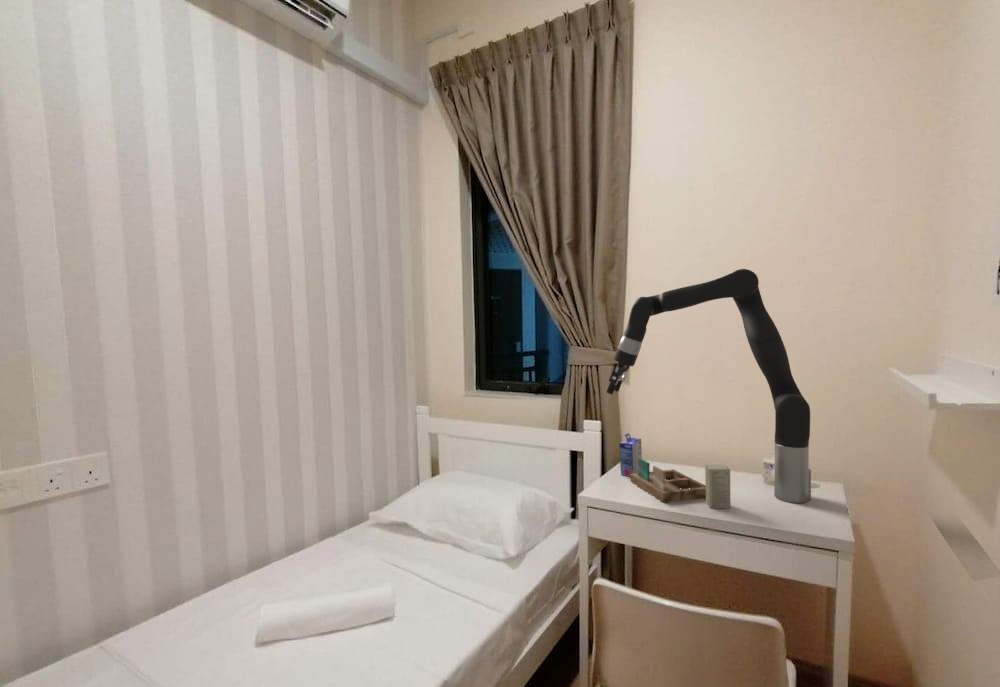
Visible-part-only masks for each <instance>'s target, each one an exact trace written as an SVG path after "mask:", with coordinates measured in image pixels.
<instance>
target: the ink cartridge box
mask: <svg viewBox="0 0 1000 687" xmlns="http://www.w3.org/2000/svg"><path fill="white" fill-rule="evenodd" d="M624 437H625V439H624V440H622V441H621V442H620V443H619V458H620V459H619V461H620V462H619V463H620V466H619V467H620V475H621V476H625V475H626V476H625V477H631V474H633V473H638V458H641V459H643V455H642V453H643V452H642V447H643V446H642V438H638V437H631V434H630V433H626V434H625V435H624Z"/></svg>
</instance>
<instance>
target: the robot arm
mask: <svg viewBox="0 0 1000 687" xmlns="http://www.w3.org/2000/svg"><path fill="white" fill-rule="evenodd" d="M759 287H760V286H759V278H758V275H757V274H756V273H755V272H754V271H752V270H750V269H746V268H740V269H736V270H733V271H732V272H730V273H728V274H726V275H724V276H722V277H718V278H716V279H712V280H709V281H705V282H702V283H698V284H692V285H687V286H683V287H679V288H675V289H671V290H667V291H664V292H662V293H660V294H655V295H650V296H640V297H638V298H636V299H635V301H633V304H632V307H631V309H630V312H629V316H628V317H629V318H628V321H627V324H626V327H625V329H624V331H623V332H624V333H623V335H622V337H621V339H620V341H619V343H618V346H617V349H616V352H615V354H614V357H613V360H614V361H615V362H618V363H617V365H614V366H613V369H612V372H611V374H610V377H609V380H608V382H609V385H608V387H607V390H606V393H607V394H609V395H613V394H614V392H619V391H620V389H621V386H622V384H623V382H624V381H625V380H626V378H627V374H628V372H629V370H630V367H635V365H636V362H637V359H638V356H639V354H640V351H641V348H642V343H643V342H644V339H645V336H646V332H647V325H648V323H649V319H650V318H651V317H652V316H655V315H656V316H657V315H659V314H664V313H666V312H672V311H678V310H681V309H682V310H683V309H688V308H690V307H694V306H697V305H700V304H703V303H705V302H710V301H714V300H719V299H727V298H732V299H733V301H734V303H735V305H736V306H737V308H738V311H739V313H740V316H741V320H742V324H743V328H744V332H745V336H746V339H747V342H748V345H749V347H750V350H751V352H752V355H753V357H754V359H755V362H756V363H757V365H758V368H759V369H760V371H761V373H762V374H763V376H764V377H765V379H766V382H767V385H768V387H769V390H770V393H771V398H772V400H773V401H772V402H773V408H774V411H775V412H774V413H775V418H774V419H775V420H774V421H775V423H774V424H775V429H774V477H773V479H774V492H773V493H774V497H775V498H776V499H779V500H780V501H784V502H787V503H794V504H795V503H796V504H799V503H800V504H803V503H806V502H807V503H808V501H809V500H812V495H811V494H812V470H811V468H809V466H810V465H809V463H810V462H809V460H810V459H809V458H810V456H809V455H810V454H809V449H810V444H809V443H810V436H811V408H810V404H809V403H808V401H807V400H806V399H805V397H804V396H803V394H802V393H801V390H800V389H799V387H798V385H797V383H796V381H795V379H794V377H793V374H792V370H791V365H790V362H789V361H790V360H789V356H788V352H787V349H786V346H785V344H784V341H783V339H782V337H781V334H780V331H779V329H778V327H777V326H776V324H775V323H774V320H773V319H772V317H771V316H770V314H769V312H768V310H767V309H766V308H765V307H766V306H765V304H764V302H763V301H764V300H763V298H762V295H761V291H760V288H759Z"/></svg>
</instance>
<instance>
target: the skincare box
mask: <svg viewBox="0 0 1000 687" xmlns="http://www.w3.org/2000/svg"><path fill="white" fill-rule="evenodd" d="M704 468H705V469H704V471H705V486H706V498H705V503H706V505H707V506H708V507H709V508H710V509H731V469H730V468H729V467H728V466H727V465H726V464H705V465H704Z"/></svg>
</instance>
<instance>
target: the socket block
mask: <svg viewBox="0 0 1000 687" xmlns="http://www.w3.org/2000/svg"><path fill="white" fill-rule="evenodd" d="M665 479H670V480H665ZM631 482H632V484H633V485H634V484H635V485H634V486H636V485H637V486H636V487H638V488H639V487H640V489H641V490H642V489H643V490H642V491H644V492H645V491H646V493H647V492H648V493H647V494H648V495H650V494H651V495H650V496H652V497H653V496H654V497H653V498H655V497H656V498H657V500H658V499H659V500H660V502H661V501H662V502H661V503H663V502H666V503H672V502H671V501H675V502H682V501H681V500H683V501H689V500H690V499H691V500H698V498H700V499H706V484H703V483H702V482H699V481H697V480H695V479H693V478H692V477H689V476H687V475H685V474H684V473H682V472H679V471H678V470H676V469H673V468H672V469H662V468H659V467H657V466H656V465H653V466H652V471H650V462H648V461H647V460H644V459H643V458H642V459H641V458H638V473H633V474H631V476H630V483H631ZM680 488H684V489H680ZM689 488H690V489H689ZM656 498H655V499H656ZM659 500H658V501H659Z"/></svg>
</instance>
